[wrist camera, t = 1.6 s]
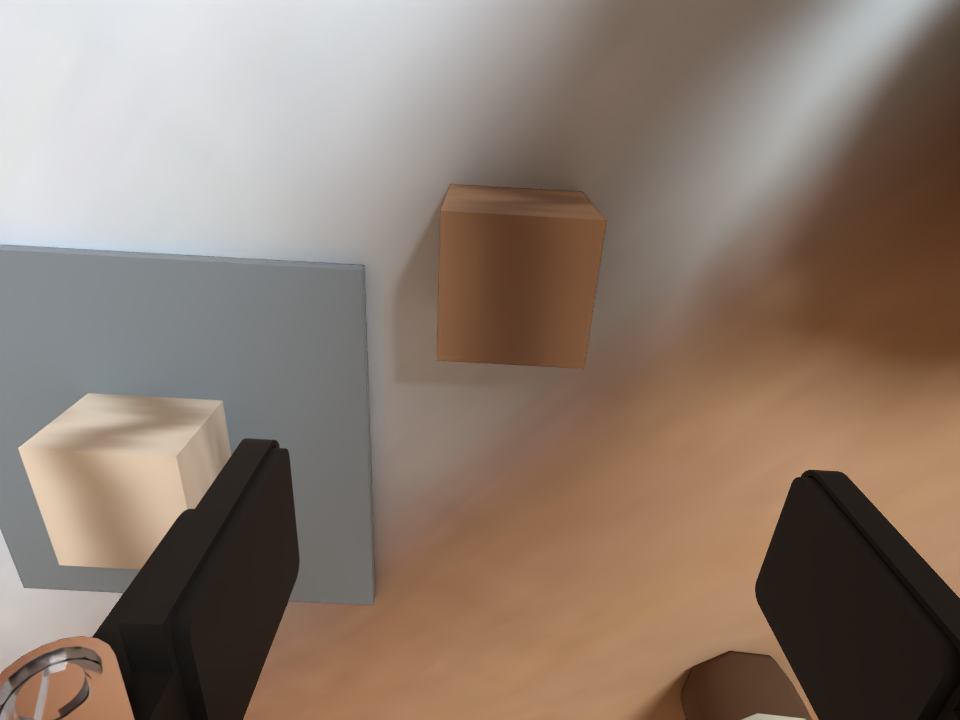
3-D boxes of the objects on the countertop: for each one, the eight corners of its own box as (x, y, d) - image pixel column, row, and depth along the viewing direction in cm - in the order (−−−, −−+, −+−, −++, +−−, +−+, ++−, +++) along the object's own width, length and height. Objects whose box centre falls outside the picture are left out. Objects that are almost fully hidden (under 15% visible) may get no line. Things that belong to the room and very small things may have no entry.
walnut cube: (582, 191, 26) (606, 220, 21) (566, 314, 29) (584, 368, 24) (450, 183, 26) (440, 210, 21) (446, 308, 29) (436, 360, 23)
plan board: (364, 265, 28) (361, 270, 27) (375, 595, 37) (373, 605, 37) (-98, 239, 28) (-114, 243, 27) (32, 577, 37) (23, 587, 36)
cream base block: (222, 400, 30) (176, 456, 26) (239, 506, 33) (200, 572, 29) (88, 393, 30) (17, 448, 26) (117, 499, 33) (59, 565, 29)
